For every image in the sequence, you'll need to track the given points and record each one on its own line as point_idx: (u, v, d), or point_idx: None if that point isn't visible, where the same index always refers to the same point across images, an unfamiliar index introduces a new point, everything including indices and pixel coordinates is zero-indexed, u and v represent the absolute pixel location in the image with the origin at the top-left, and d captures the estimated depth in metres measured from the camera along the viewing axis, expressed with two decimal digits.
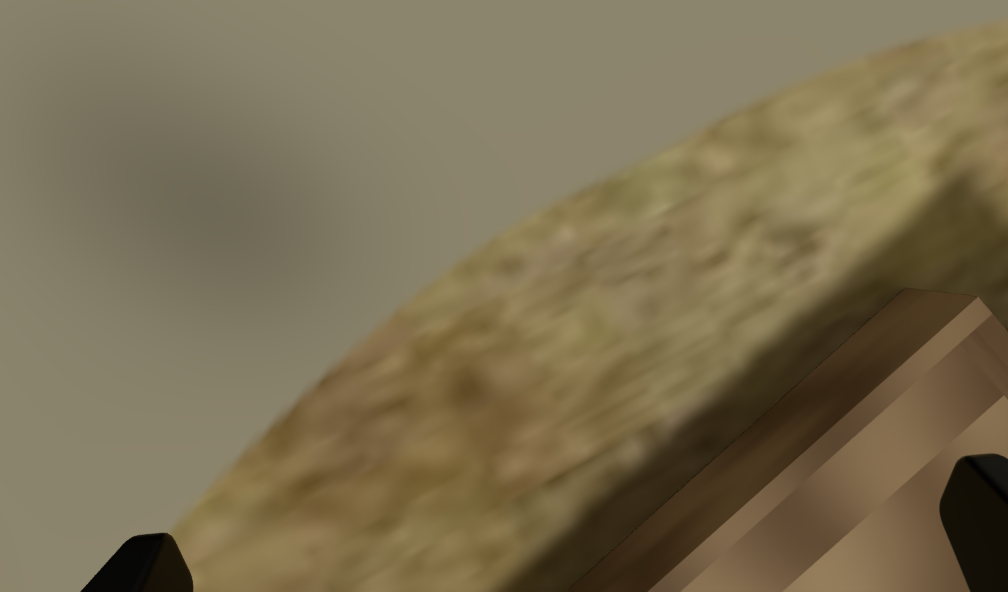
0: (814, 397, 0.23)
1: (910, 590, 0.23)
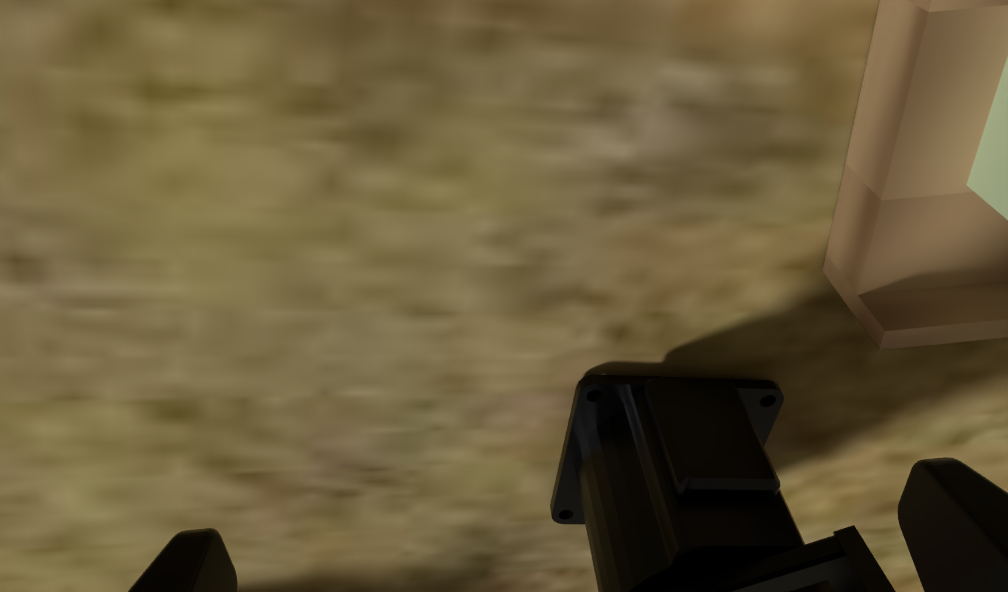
0: None
1: None
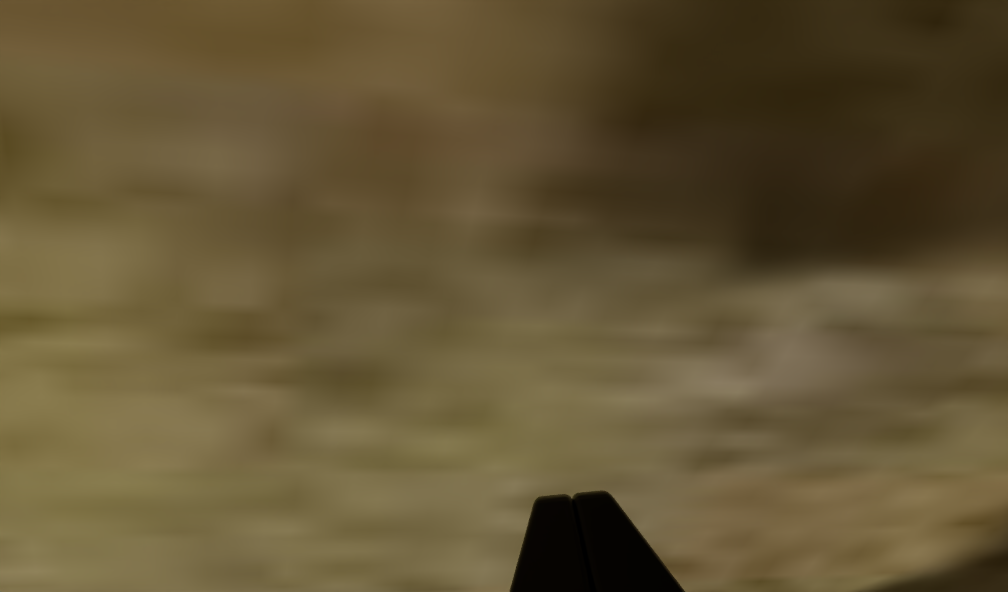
0: None
1: None
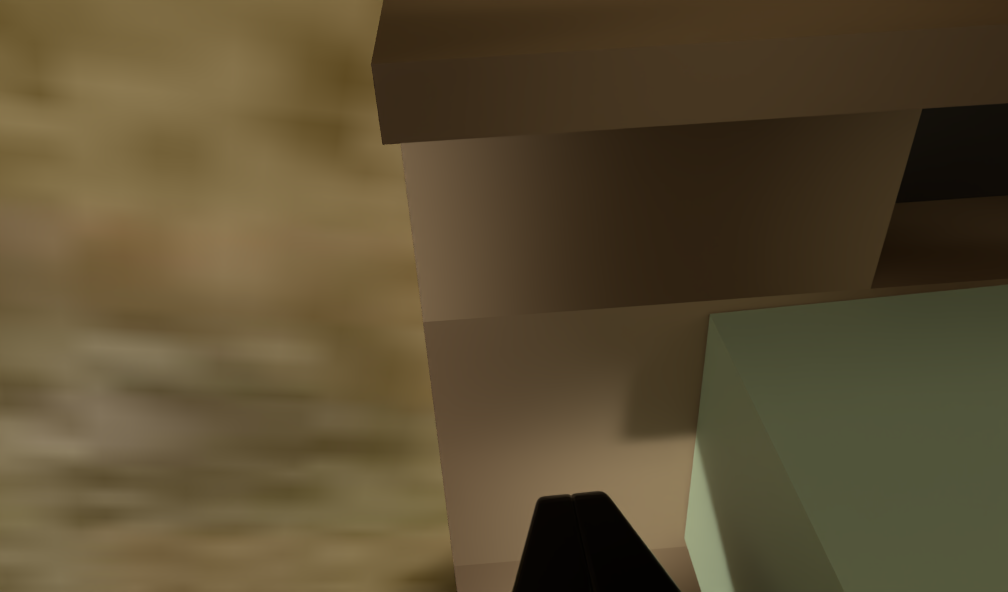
0: None
1: None
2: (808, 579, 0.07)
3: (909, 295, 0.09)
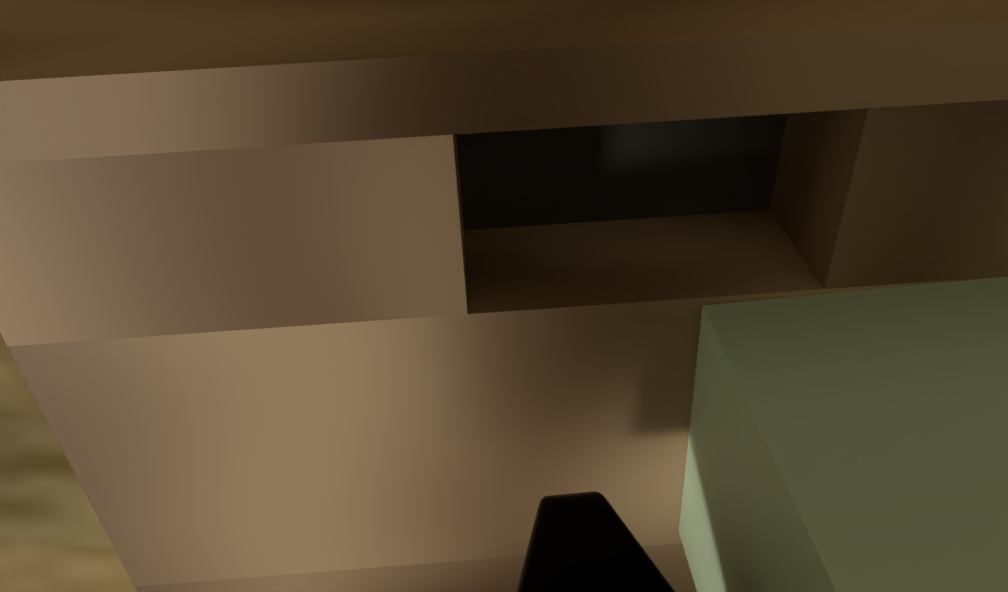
0: None
1: None
2: (798, 568, 0.07)
3: (903, 287, 0.09)
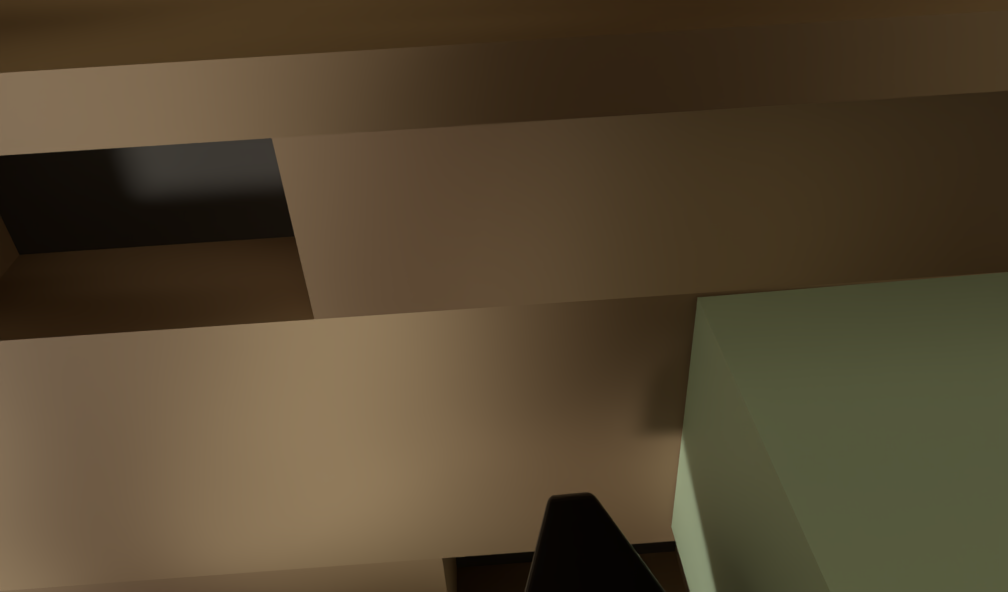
0: None
1: None
2: (788, 563, 0.07)
3: (901, 281, 0.09)
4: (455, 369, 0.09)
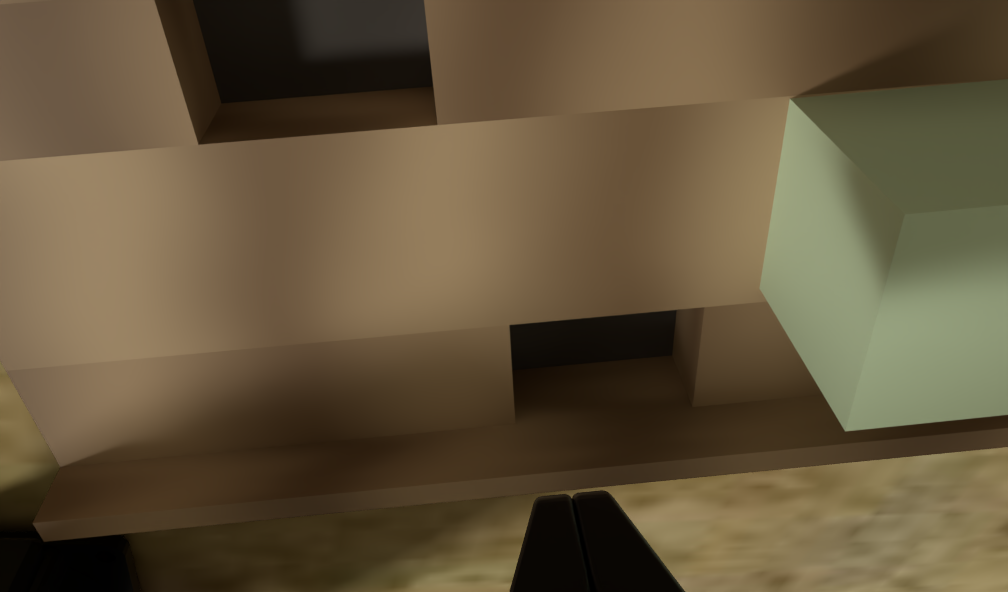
0: None
1: None
2: (863, 212, 0.11)
3: (920, 87, 0.14)
4: (526, 163, 0.14)
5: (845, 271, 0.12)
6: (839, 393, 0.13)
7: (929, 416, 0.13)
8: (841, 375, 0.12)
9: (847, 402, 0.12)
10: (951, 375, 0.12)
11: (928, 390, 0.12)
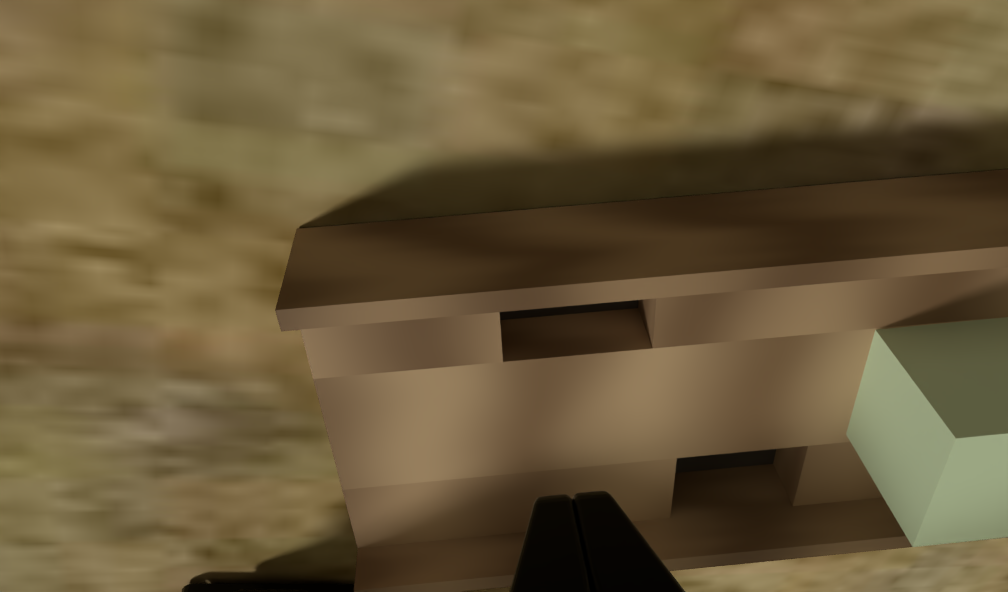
0: None
1: None
2: (928, 424, 0.19)
3: None
4: (704, 367, 0.21)
5: (914, 452, 0.20)
6: (908, 523, 0.20)
7: (965, 538, 0.20)
8: (910, 512, 0.20)
9: (914, 530, 0.20)
10: (979, 516, 0.20)
11: (965, 524, 0.20)
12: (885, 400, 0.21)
